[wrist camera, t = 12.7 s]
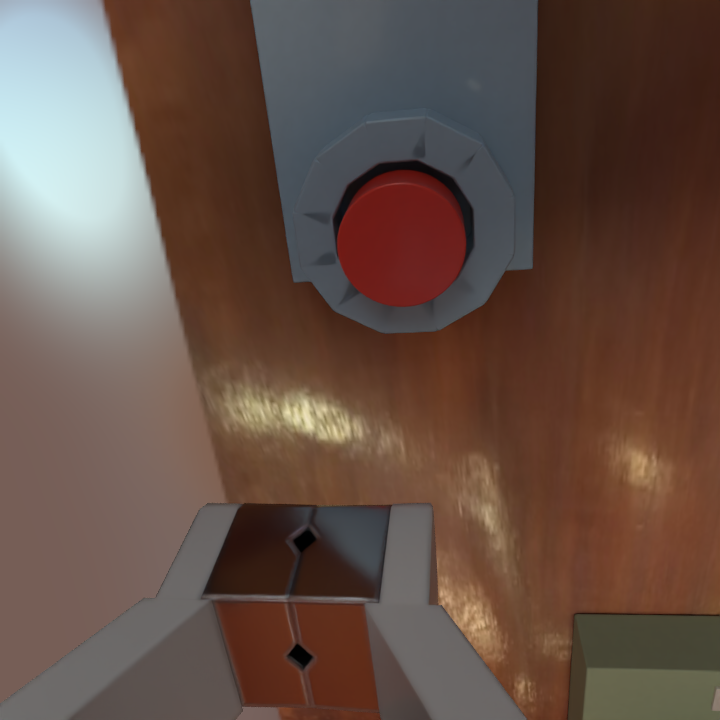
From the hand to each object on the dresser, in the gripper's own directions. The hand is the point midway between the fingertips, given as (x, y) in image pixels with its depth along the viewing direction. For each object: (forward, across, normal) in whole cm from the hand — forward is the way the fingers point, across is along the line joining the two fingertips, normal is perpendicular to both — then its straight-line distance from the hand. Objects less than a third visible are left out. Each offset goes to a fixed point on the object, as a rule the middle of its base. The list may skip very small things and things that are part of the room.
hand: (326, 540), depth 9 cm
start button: (+13, 0, 0) cm, 13 cm away
